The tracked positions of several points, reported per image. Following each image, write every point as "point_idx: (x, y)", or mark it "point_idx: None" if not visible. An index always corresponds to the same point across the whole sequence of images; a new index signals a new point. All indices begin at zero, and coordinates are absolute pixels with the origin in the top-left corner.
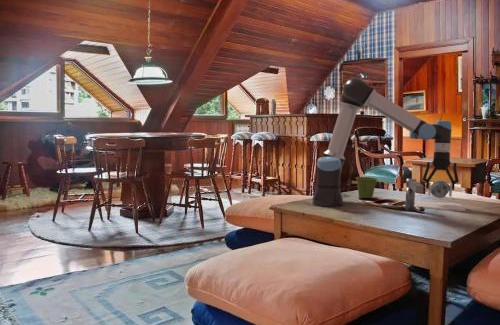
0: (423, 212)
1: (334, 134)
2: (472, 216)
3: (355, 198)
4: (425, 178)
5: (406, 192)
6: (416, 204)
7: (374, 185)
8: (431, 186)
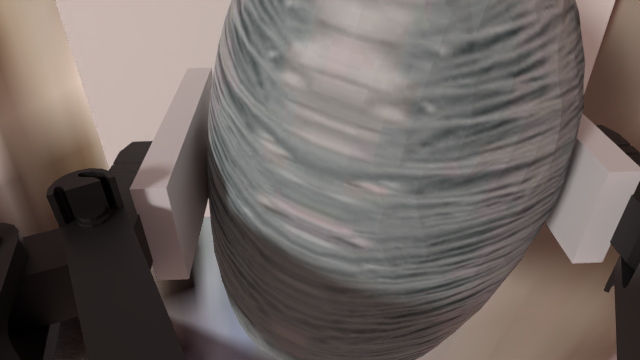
0: (202, 346)
1: None
2: (501, 343)
3: None
4: (43, 353)
5: None
6: (101, 132)
7: None
8: (220, 254)
